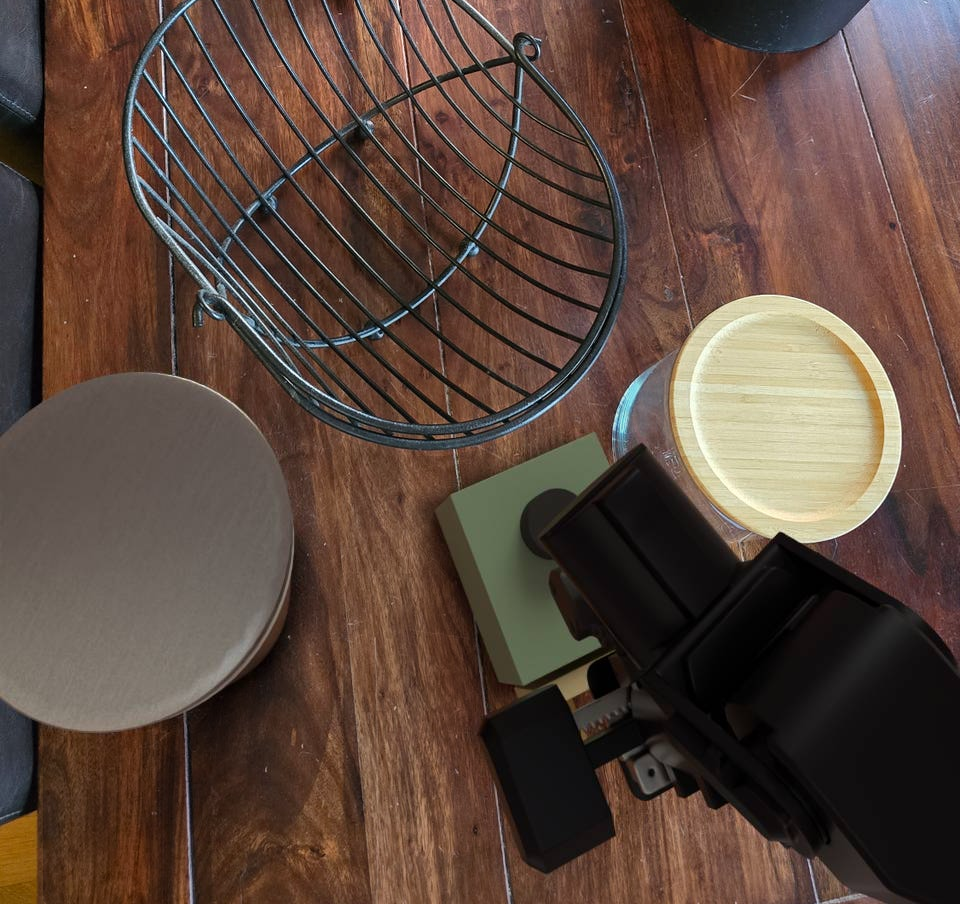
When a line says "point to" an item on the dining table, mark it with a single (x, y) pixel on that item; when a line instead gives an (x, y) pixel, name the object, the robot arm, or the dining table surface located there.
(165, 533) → the round grey canister
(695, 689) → the robot arm
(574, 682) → the drawer
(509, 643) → the cabinet
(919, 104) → the dining table surface
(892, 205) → the dining table surface
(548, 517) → the black rubber puck
